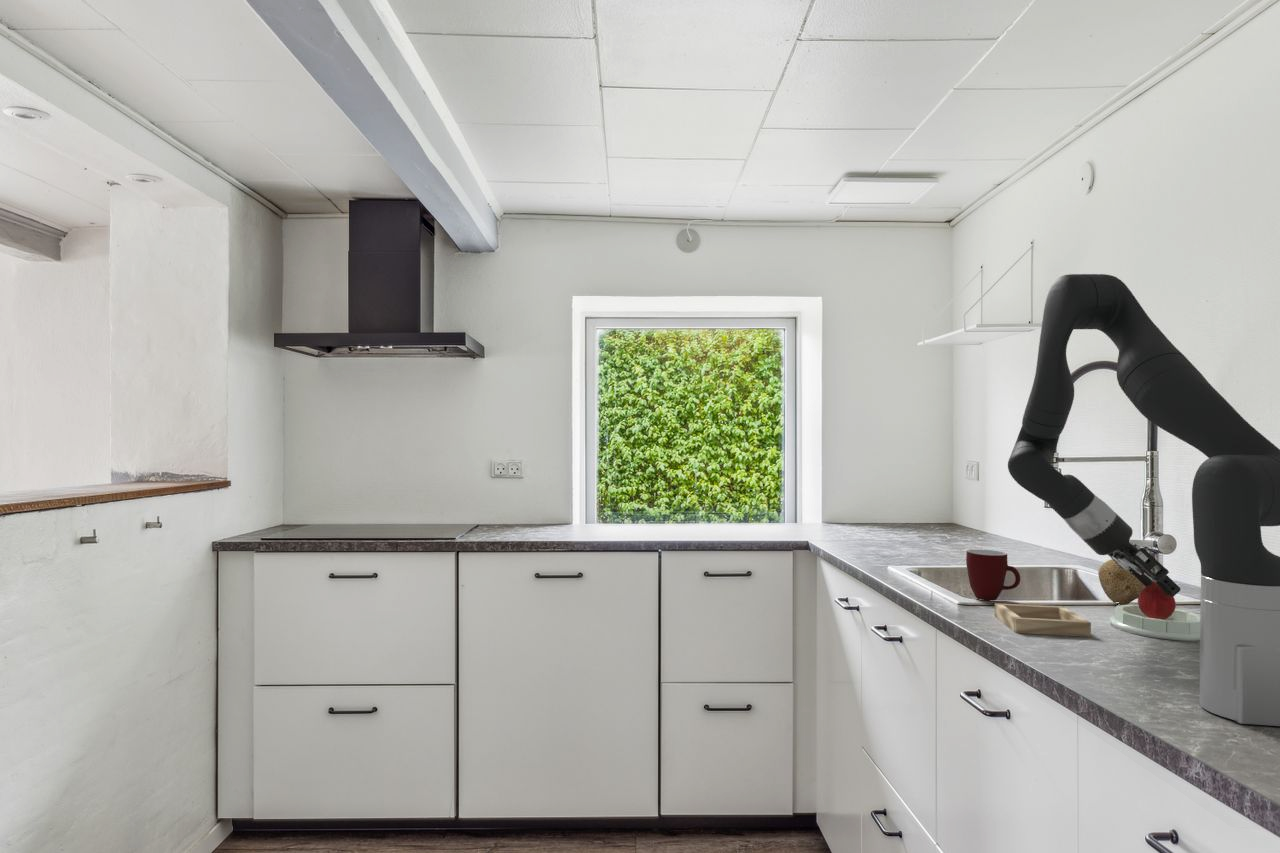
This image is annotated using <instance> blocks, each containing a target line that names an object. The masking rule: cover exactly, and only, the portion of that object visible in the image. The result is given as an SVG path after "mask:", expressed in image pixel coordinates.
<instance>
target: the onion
mask: <svg viewBox="0 0 1280 853" xmlns="http://www.w3.org/2000/svg"><path fill="white" fill-rule="evenodd" d="M1176 604H1177V603H1176V599H1175V596H1173V597H1171V596H1169V595H1167V594H1166V593H1165V592H1164V591H1163V590H1162V589H1161V588H1160V587H1159V586H1158V585H1157V584H1156V583H1155V582H1153V583H1152V584H1151V585H1149V586H1147V587H1145V588H1144V589H1143V590H1142V591H1141V593H1140V594H1139V597H1138V599H1137V605H1138V606H1139V608H1140V610H1141V611H1142V613H1143V614H1144V615H1145V616H1147V617H1148V618H1155V619H1162V620H1165V619H1167V618H1168V617H1170V616H1171V615H1172V614H1173V612H1174V611H1175V609H1177V608H1176V607H1177V606H1176Z"/></svg>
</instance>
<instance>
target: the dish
mask: <svg viewBox="0 0 1280 853" xmlns="http://www.w3.org/2000/svg"><path fill="white" fill-rule="evenodd" d="M1113 613H1114V614H1113V615H1111V616H1110V618H1109V624H1110V626H1111V627H1113V628H1115V629H1117V630H1119V629H1120V631H1122V632H1126V633H1129V634H1133V635H1138V636H1143V637H1148V638H1154V639H1159V640H1160V639H1162V640H1169V641H1181V642H1182V641H1185V642H1186V641H1187V642H1191V641H1192V642H1194V641H1195V642H1196V641H1200V615H1199V614H1196V613H1194V612H1192V611H1187V610H1182V609H1178V608H1175V611H1174V612H1173V614H1172V615H1171V616H1170V617H1168V618H1167V619H1165V620H1162V619H1155V618H1148V617H1147V616H1145V615H1144V614H1143V613H1142V611H1141V610H1140V608H1139V606H1138V604H1134V603H1133V604H1131V603H1129V604H1127V605H1116V606H1115V607H1114V609H1113Z"/></svg>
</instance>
